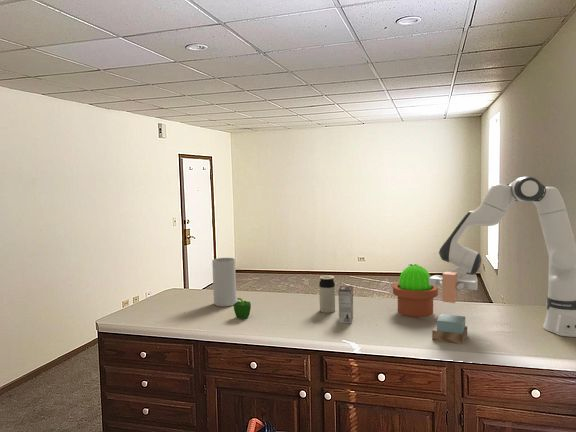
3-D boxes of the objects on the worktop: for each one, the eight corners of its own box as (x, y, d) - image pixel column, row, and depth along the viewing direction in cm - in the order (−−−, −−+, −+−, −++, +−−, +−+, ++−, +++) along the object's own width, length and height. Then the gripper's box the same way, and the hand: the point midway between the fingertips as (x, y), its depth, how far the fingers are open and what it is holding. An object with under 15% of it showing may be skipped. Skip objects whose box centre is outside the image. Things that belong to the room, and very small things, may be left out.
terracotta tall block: (457, 300, 201) (457, 272, 200) (454, 303, 197) (454, 274, 196) (445, 298, 204) (445, 271, 203) (442, 301, 200) (442, 273, 199)
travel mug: (330, 314, 240) (330, 279, 238) (317, 311, 244) (316, 277, 242) (337, 310, 246) (337, 276, 245) (324, 308, 250) (323, 274, 249)
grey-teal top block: (465, 326, 203) (465, 316, 202) (462, 334, 194) (462, 323, 194) (441, 323, 207) (441, 313, 207) (436, 330, 199) (437, 320, 198)
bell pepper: (254, 317, 237) (254, 297, 236) (242, 321, 231) (241, 301, 230) (243, 314, 243) (242, 295, 242) (231, 318, 237) (230, 298, 236)
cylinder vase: (227, 299, 272) (226, 256, 270) (241, 303, 263) (239, 259, 261) (209, 304, 264) (207, 260, 261) (222, 308, 254) (220, 262, 252)
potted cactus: (436, 321, 224) (436, 269, 222) (389, 316, 232) (389, 267, 230) (439, 308, 245) (439, 260, 242) (396, 305, 253) (396, 259, 250)
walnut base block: (467, 336, 204) (467, 326, 203) (461, 345, 194) (462, 334, 193) (438, 332, 210) (439, 322, 210) (432, 340, 200) (432, 330, 199)
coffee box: (340, 317, 234) (340, 285, 232) (353, 317, 233) (353, 285, 231) (338, 323, 225) (338, 290, 223) (352, 323, 224) (351, 290, 222)
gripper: (432, 270, 216) (424, 276, 204) (480, 274, 206) (474, 281, 194) (432, 284, 217) (424, 290, 205) (480, 288, 206) (474, 296, 194)
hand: (449, 286), depth 199 cm, fingers closed on terracotta tall block, 5 cm apart
